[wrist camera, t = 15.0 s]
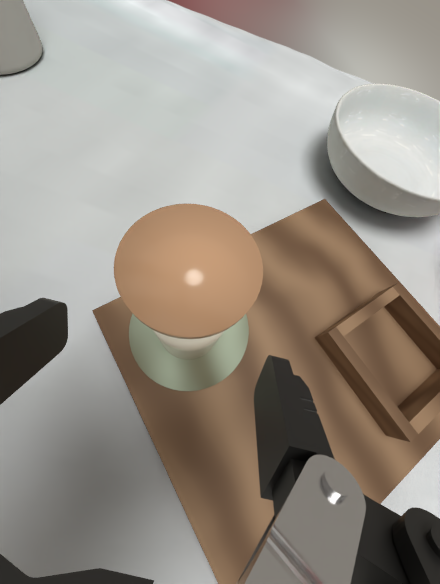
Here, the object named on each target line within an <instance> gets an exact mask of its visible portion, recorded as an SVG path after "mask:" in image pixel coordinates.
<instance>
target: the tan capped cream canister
mask: <svg viewBox="0 0 440 584" xmlns="http://www.w3.org/2000/svg"><path fill="white" fill-rule="evenodd" d="M114 277H115V282H116V286H117V289H118V291H119V294H120V296H121V298H122V299H123V301H124V303H125V304H126V306H127V307H128V308H129V309H130V311H131V312H132V313H133V314H134V316H135V317H136V318H137V319H139V320H140V321H141V322H142V323H143V324H145V325H146V326H147V327H149V328H150V329H152V330H153V331H154V333H155V334H156V336H157V337H158V339H159V340H160V342H161V343H162V345H163V346H164V348H165V349H166V350H167V351H168V352H169V353H170V354H171V355H173V356H175V357H177V358H180V359H185V360H191V359H197V358H199V357H202V356H204V355H205V354H206V353H208V352H209V351H210V350H211V349H212V347H213V346H214V345H215V343H216V342H217V341H218V339H219V338H220V336H221V335H222V334H223V332H224V331H225V330H227V329H229V328H230V327H232V326H233V325H235V324H236V323H237V322H238V321H239V320H240V319H242V318H243V316H244V315H245V314H246V313H247V312H248V311H249V309H250V308H251V307H252V305H253V304H254V302H255V301H256V299H257V297H258V294H259V292H260V289H261V285H262V280H263V263H262V258H261V254H260V251H259V248H258V246H257V244H256V242H255V240H254V239H253V237H252V236H251V234H250V233H249V232H248V231H247V229H246V228H245V227H244V226H243V225H242V224H241V223H239V222H238V221H237V220H235V219H234V218H233V217H231V216H229V215H228V214H226V213H224V212H222V211H220V210H217V209H214V208H212V207H208V206H204V205H197V204H176V205H170V206H166V207H163V208H159V209H157V210H155V211H152V212H150V213H148V214H147V215H145V216H143V217H142V218H141V219H139V220H138V221H137V222H135V223H134V224H133V225H132V226H131V227H130V228H129V230H128V231H127V232H126V233H125V235H124V237H123V238H122V240H121V242H120V244H119V246H118V249H117V252H116V256H115V261H114Z"/></svg>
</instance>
